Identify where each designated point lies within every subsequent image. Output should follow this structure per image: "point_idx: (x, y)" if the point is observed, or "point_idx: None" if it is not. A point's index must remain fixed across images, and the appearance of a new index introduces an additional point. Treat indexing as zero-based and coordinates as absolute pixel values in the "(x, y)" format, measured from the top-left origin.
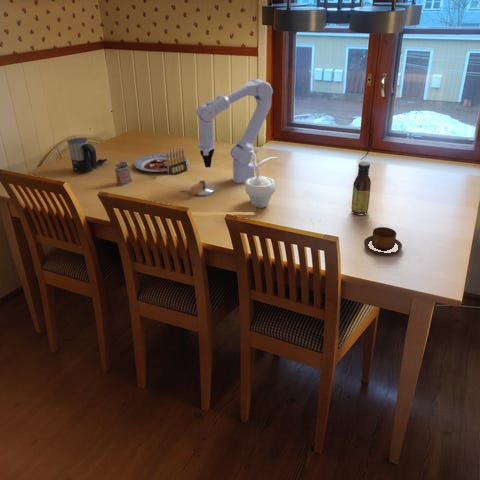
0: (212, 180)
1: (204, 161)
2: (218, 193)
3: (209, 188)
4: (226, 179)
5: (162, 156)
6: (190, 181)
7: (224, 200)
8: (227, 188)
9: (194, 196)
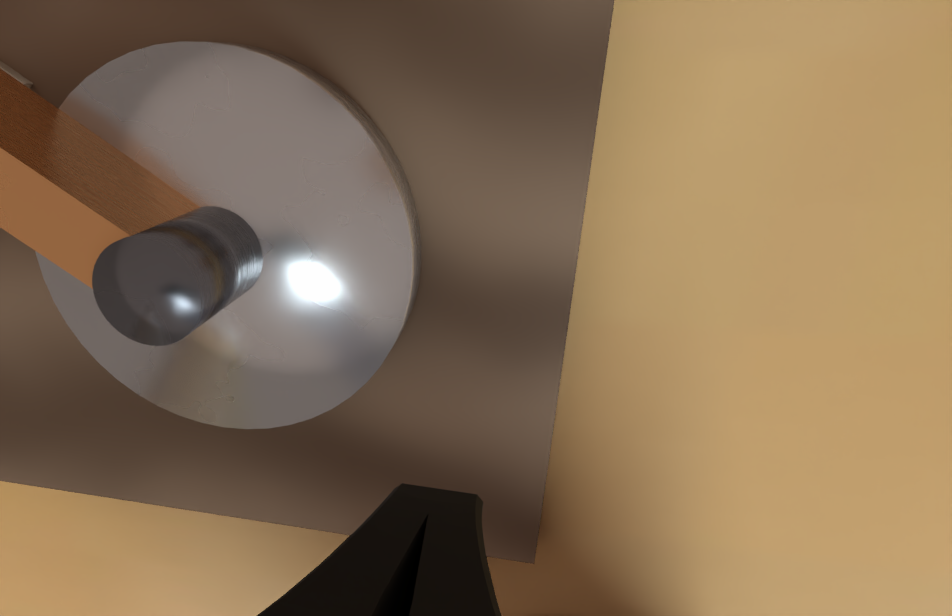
0: (798, 400)
1: (309, 586)
2: None
3: (229, 355)
4: (786, 585)
5: None
6: (855, 19)
7: None
8: None
9: None
